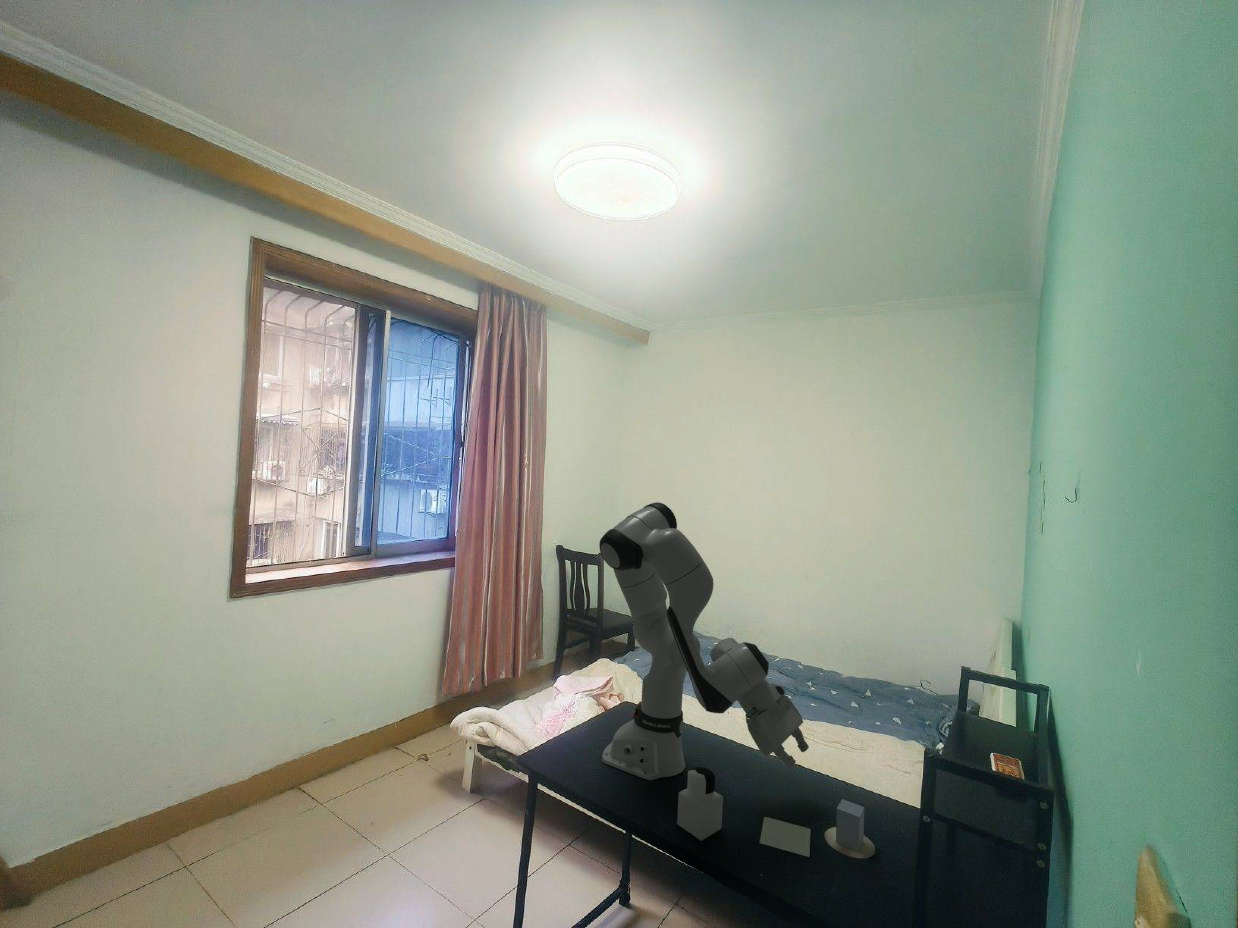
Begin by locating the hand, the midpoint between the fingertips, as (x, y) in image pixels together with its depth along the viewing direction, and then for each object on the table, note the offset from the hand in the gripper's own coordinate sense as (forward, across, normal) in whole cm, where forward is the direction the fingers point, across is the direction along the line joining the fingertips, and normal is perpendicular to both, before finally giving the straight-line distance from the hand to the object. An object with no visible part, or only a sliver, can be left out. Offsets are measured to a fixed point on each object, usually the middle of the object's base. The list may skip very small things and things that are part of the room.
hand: (799, 757), depth 122 cm
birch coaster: (+18, 0, +2) cm, 18 cm away
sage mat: (+10, -7, +10) cm, 16 cm away
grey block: (+18, 0, +2) cm, 18 cm away
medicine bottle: (-1, -17, +22) cm, 28 cm away
